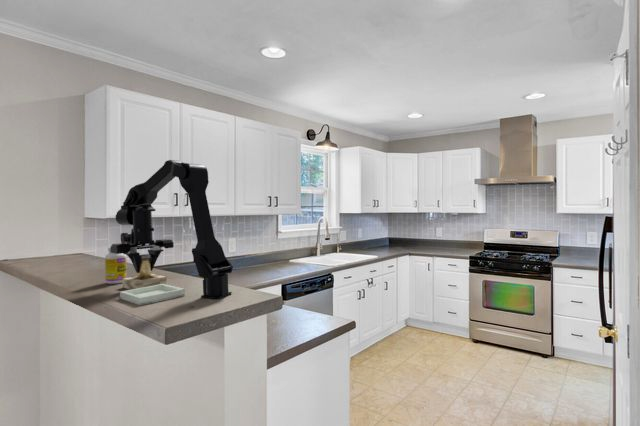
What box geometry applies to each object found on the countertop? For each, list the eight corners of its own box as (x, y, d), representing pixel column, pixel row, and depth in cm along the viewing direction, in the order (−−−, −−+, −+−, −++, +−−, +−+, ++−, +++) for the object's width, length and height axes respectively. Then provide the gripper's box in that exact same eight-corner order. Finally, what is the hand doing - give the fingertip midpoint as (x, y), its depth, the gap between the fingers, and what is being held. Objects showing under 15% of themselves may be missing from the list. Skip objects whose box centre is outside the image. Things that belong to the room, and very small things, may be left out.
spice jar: (155, 282, 127) (154, 254, 127) (144, 285, 123) (143, 256, 122) (144, 281, 129) (143, 253, 129) (133, 284, 124) (132, 255, 124)
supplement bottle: (118, 284, 130) (116, 247, 130) (101, 284, 132) (100, 247, 131) (131, 280, 137) (130, 245, 136) (115, 280, 138) (114, 245, 138)
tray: (184, 295, 111) (184, 288, 111) (140, 305, 101) (140, 298, 101) (163, 290, 120) (162, 283, 120) (120, 298, 110) (119, 291, 110)
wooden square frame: (166, 285, 126) (166, 276, 126) (136, 291, 119) (136, 281, 119) (152, 282, 133) (152, 273, 133) (123, 287, 125) (122, 278, 125)
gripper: (158, 223, 138) (159, 265, 138) (102, 226, 123) (104, 273, 124) (173, 223, 130) (175, 268, 131) (116, 227, 116) (118, 277, 117)
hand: (144, 271), depth 126 cm, fingers closed on spice jar, 4 cm apart
